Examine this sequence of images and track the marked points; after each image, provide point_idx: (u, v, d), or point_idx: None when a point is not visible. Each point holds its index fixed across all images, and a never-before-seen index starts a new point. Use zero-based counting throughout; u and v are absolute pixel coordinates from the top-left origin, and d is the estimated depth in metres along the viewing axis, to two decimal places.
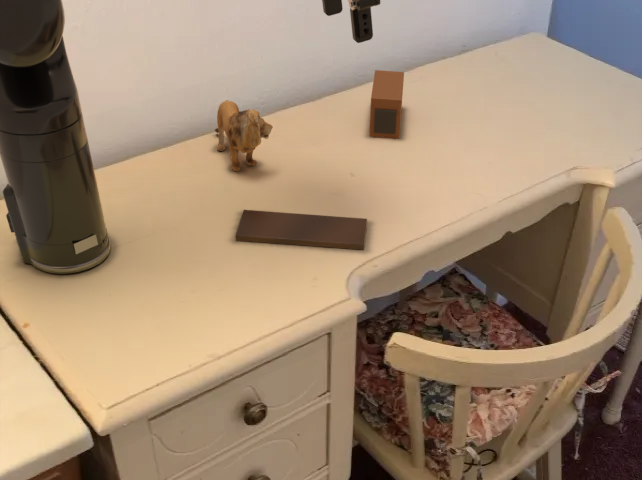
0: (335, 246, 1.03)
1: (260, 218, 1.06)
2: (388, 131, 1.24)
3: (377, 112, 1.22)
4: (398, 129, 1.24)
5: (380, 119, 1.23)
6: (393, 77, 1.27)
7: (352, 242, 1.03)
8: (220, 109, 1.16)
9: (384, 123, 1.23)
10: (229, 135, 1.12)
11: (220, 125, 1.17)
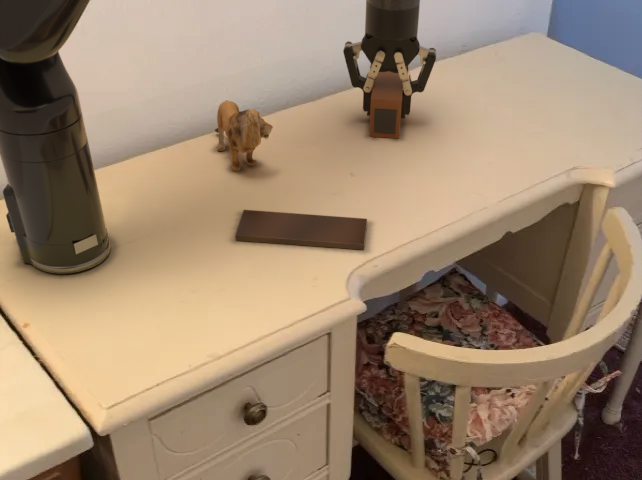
0: (335, 246, 1.03)
1: (260, 218, 1.06)
2: (388, 131, 1.24)
3: (377, 112, 1.22)
4: (398, 129, 1.24)
5: (380, 119, 1.23)
6: (393, 77, 1.27)
7: (352, 242, 1.03)
8: (220, 109, 1.16)
9: (384, 123, 1.23)
10: (229, 135, 1.12)
11: (220, 125, 1.17)
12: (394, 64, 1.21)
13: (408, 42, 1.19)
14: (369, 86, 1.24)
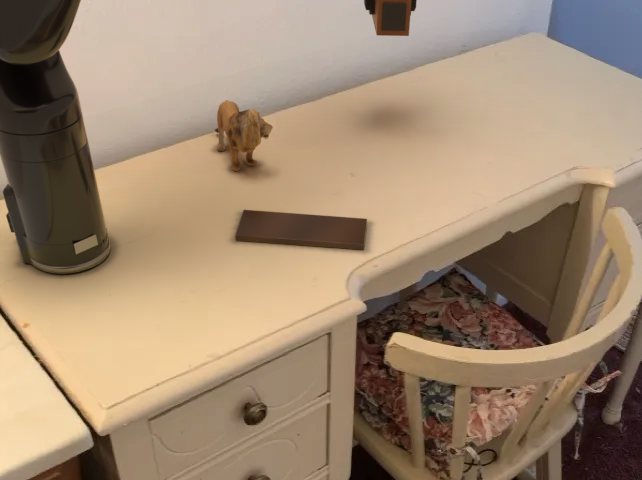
0: (335, 246, 1.03)
1: (260, 218, 1.06)
2: (397, 28, 1.14)
3: (386, 6, 1.12)
4: (408, 25, 1.14)
5: (389, 14, 1.13)
6: None
7: (352, 242, 1.03)
8: (220, 109, 1.16)
9: (393, 18, 1.13)
10: (229, 135, 1.12)
11: (220, 125, 1.17)
12: None
13: None
14: None
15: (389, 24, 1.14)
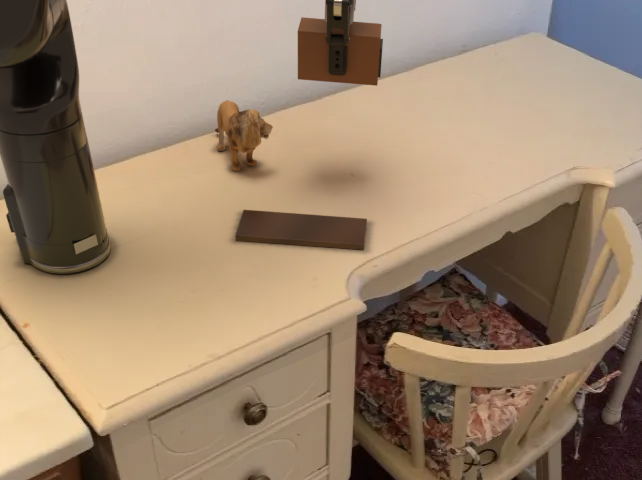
0: (335, 246, 1.03)
1: (260, 218, 1.06)
2: None
3: None
4: None
5: None
6: (318, 23, 1.02)
7: (352, 242, 1.03)
8: (220, 109, 1.16)
9: None
10: (229, 135, 1.12)
11: (220, 125, 1.17)
12: None
13: None
14: (348, 36, 1.00)
15: None
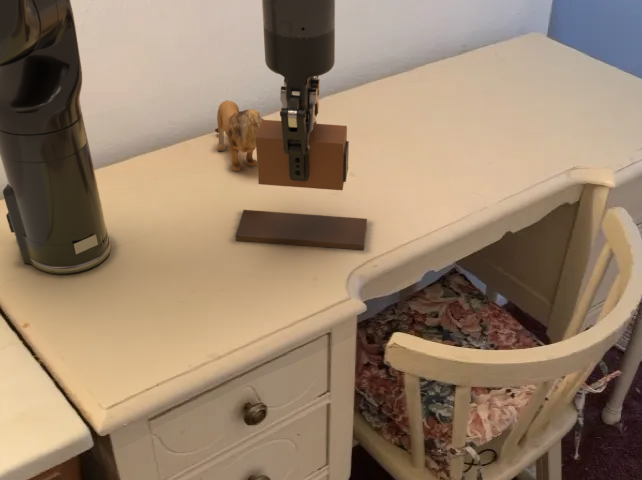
0: (335, 246, 1.03)
1: (260, 218, 1.06)
2: (347, 170, 1.00)
3: (346, 155, 0.96)
4: None
5: (346, 161, 0.97)
6: (279, 126, 0.97)
7: (352, 242, 1.03)
8: (220, 109, 1.16)
9: (347, 163, 0.98)
10: (229, 135, 1.12)
11: (220, 125, 1.17)
12: None
13: None
14: None
15: (346, 171, 0.98)
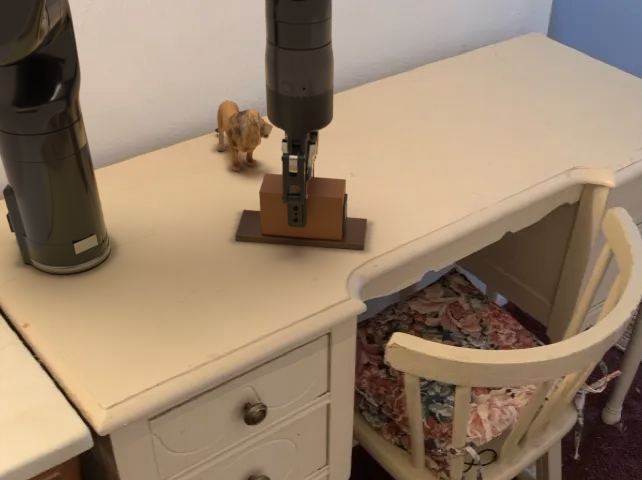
0: (335, 246, 1.03)
1: (260, 218, 1.06)
2: (346, 220, 1.05)
3: (345, 208, 1.01)
4: None
5: (345, 213, 1.02)
6: (281, 180, 1.01)
7: (352, 242, 1.03)
8: (220, 109, 1.16)
9: (346, 214, 1.03)
10: (229, 135, 1.12)
11: (220, 125, 1.17)
12: None
13: None
14: None
15: (345, 222, 1.03)
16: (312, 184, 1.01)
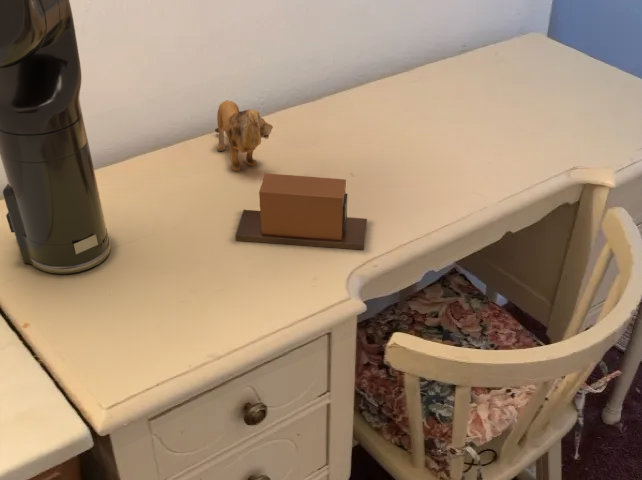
0: (335, 246, 1.03)
1: (260, 218, 1.06)
2: (346, 220, 1.05)
3: (345, 208, 1.01)
4: None
5: (345, 213, 1.02)
6: (281, 180, 1.01)
7: (352, 242, 1.03)
8: (220, 109, 1.16)
9: (346, 214, 1.03)
10: (229, 135, 1.12)
11: (220, 125, 1.17)
12: None
13: None
14: None
15: (345, 222, 1.03)
16: (312, 184, 1.01)
